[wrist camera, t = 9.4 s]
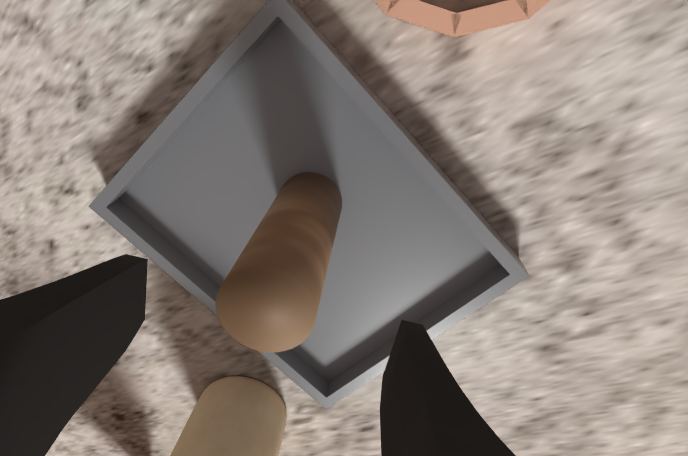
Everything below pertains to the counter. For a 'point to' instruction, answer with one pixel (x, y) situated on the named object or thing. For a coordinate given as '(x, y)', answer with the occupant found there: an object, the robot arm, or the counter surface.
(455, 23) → the ring
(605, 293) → the counter surface
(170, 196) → the tray
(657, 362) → the counter surface
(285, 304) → the dowel
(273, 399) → the candle
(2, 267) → the counter surface
